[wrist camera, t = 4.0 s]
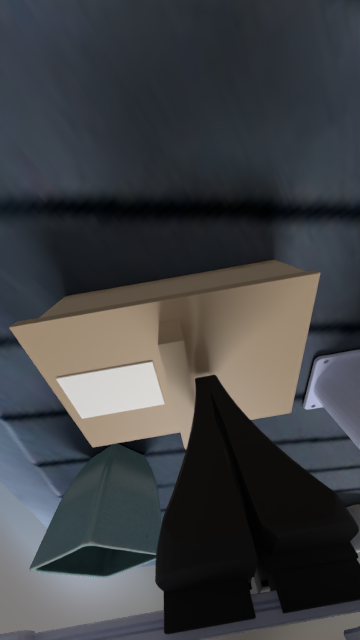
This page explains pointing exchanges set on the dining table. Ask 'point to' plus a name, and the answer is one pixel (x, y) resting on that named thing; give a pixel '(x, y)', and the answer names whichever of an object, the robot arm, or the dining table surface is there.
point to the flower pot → (104, 519)
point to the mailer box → (171, 286)
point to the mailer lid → (174, 355)
